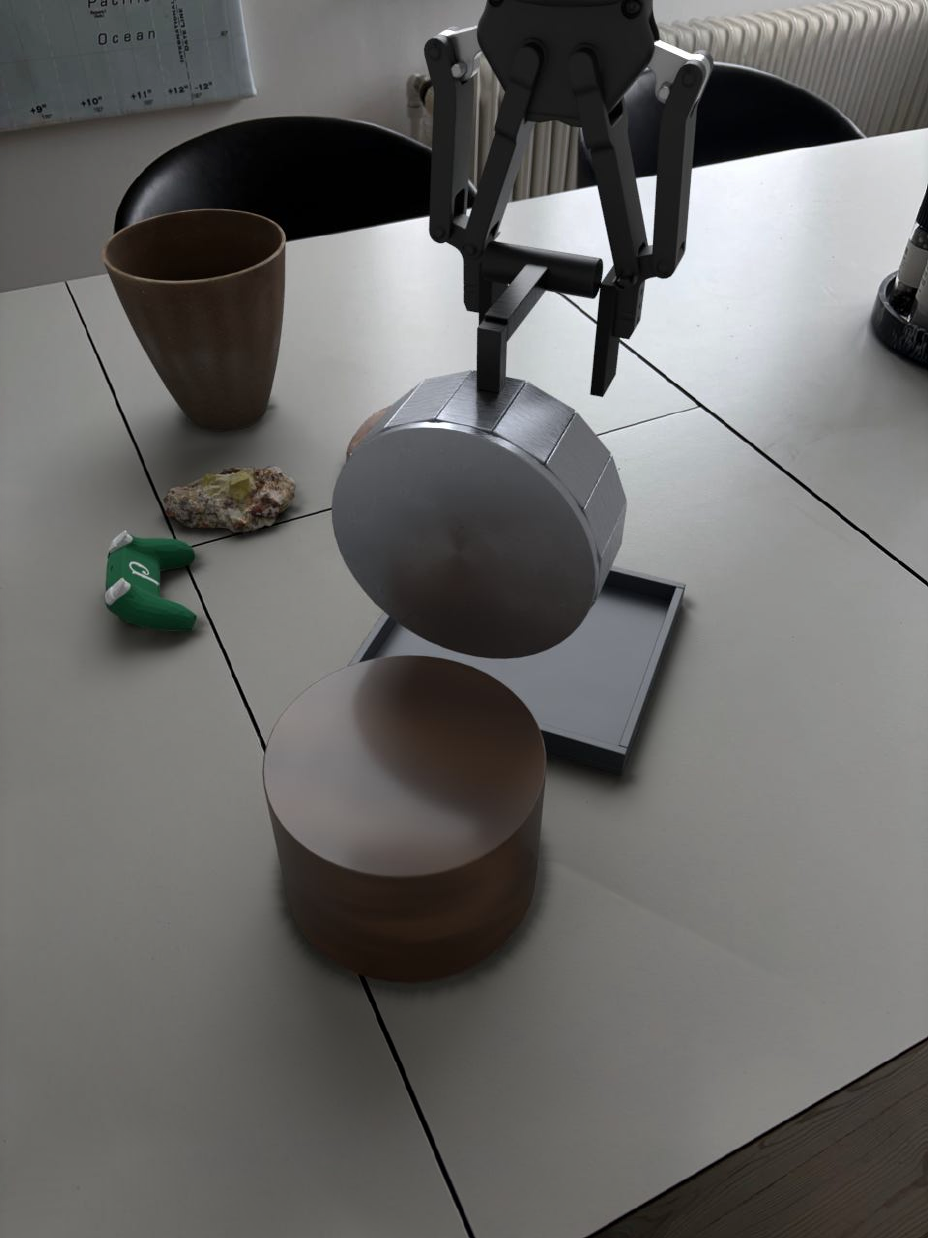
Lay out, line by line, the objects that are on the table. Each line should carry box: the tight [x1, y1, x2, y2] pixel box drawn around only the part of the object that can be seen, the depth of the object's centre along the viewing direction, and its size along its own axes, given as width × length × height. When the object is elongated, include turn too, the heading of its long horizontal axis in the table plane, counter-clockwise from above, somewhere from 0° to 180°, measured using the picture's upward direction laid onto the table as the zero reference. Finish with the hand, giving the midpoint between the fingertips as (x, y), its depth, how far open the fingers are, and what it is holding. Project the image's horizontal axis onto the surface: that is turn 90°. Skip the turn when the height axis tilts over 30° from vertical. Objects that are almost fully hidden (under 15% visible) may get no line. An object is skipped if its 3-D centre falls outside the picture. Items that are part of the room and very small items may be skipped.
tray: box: [347, 565, 687, 776], centre depth 70 cm, size 17×19×2 cm
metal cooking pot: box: [331, 240, 628, 659], centre depth 54 cm, size 18×14×13 cm
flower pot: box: [101, 208, 287, 432], centre depth 89 cm, size 15×15×16 cm
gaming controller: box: [104, 529, 198, 632], centre depth 74 cm, size 9×4×6 cm
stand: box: [261, 655, 548, 984], centre depth 54 cm, size 14×14×10 cm
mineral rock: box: [163, 465, 297, 534], centre depth 82 cm, size 11×4×8 cm
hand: (546, 372), depth 58 cm, fingers closed on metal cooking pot, 6 cm apart
